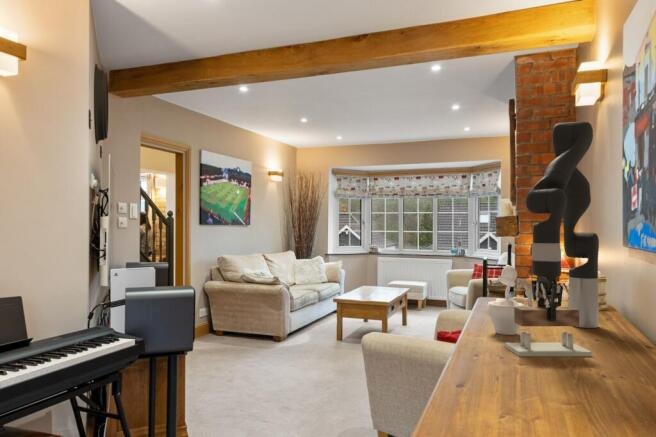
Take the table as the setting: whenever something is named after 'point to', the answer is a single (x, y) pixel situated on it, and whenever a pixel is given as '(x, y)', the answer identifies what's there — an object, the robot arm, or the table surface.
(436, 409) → the table surface
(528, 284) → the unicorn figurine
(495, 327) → the potted plant
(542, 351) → the peg stand
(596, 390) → the table surface
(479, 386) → the table surface
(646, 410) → the table surface
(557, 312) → the walnut shelf board
